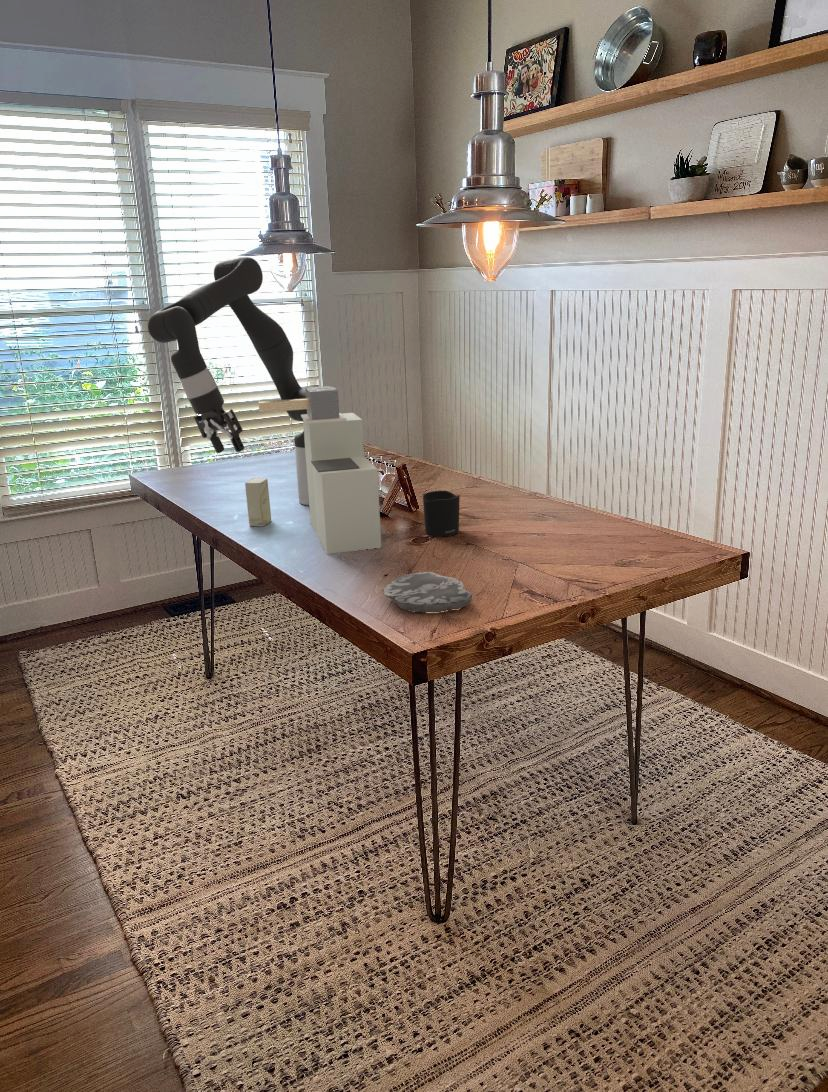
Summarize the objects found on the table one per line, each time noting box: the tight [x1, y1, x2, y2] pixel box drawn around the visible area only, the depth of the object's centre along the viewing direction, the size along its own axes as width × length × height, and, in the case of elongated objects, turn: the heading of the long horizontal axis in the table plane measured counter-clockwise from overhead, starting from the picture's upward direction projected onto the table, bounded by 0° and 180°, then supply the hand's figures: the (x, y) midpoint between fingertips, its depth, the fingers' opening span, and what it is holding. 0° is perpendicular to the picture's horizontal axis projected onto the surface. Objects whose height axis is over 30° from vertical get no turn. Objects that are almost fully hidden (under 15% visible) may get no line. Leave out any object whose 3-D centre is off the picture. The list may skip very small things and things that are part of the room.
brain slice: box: [382, 571, 473, 613], centre depth 175 cm, size 20×17×3 cm
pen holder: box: [422, 490, 461, 537], centre depth 220 cm, size 9×9×10 cm
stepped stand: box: [301, 412, 382, 555], centre depth 217 cm, size 14×28×30 cm, turn 15°
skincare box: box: [244, 477, 272, 527], centre depth 233 cm, size 6×4×12 cm
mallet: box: [258, 385, 340, 420], centre depth 217 cm, size 20×9×7 cm, turn 105°
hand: (230, 451), depth 210 cm, fingers open, 8 cm apart
